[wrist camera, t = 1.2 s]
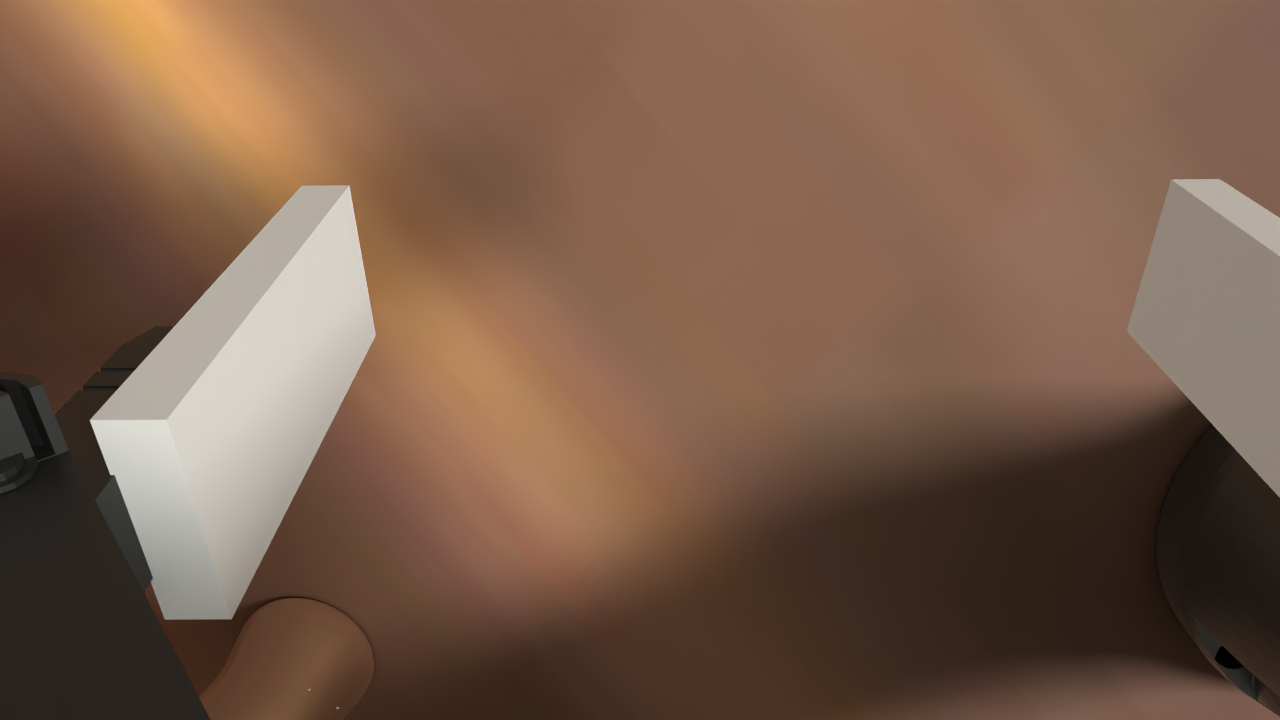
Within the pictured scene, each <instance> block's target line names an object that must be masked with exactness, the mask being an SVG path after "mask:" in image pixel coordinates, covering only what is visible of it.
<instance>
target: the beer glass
mask: <svg viewBox="0 0 1280 720" xmlns="http://www.w3.org/2000/svg"><path fill="white" fill-rule="evenodd" d="M373 673H374V655H373V651H372V648H371V645H370V643H369V641H368V639H367V637H366V636H365V634H364V633H363V631H362V630H361V629H360V628H359V627H358V625H357V624H356V623H355V622H354V621H353V620H351V619H350V618H349V617H348V616H347V615H345V614H344V613H342V612H341V611H339V610H337V609H336V608H334V607H332V606H329V605H327V604H325V603H322V602H319V601H315V600H311V599H305V598H284V599H279V600H275V601H272V602H269V603H267V604H265V605H263V606H262V607H260V608H259V609H258V610H256V611H255V612H254V613H253V614H252V615H251V616H250V617H249V618H248V620H247V621H246V623H245V624H244V626H243V628H242V630H241V632H240V634H239V636H238V638H237V640H236V642H235V645H234V647H233V649H232V651H231V654H230V656H229V658H228V660H227V662H226V664H225V666H224V667H223V669H222V670H221V672H220V673H219V674H218V676H217V677H216V678H215V680H214V681H213V682H212V683H211V684H210V685H209V687H208V688H207V689H206V690H205V691H204V692H203V693H202V694H201V695H200V696H199V699H200V700H201V702H202V704H203V706H204V708H205V710H206V712H207V714H208V716H209V718H210V719H211V720H343V719H344V717H345V716H346V715H347V714H348V713H349V712H350V710H351V709H352V708H353V707H354V706H355V705H356V703H357V702H358V701H359V700H360V698H361V697H362V696H363V695H364V693H365V692H366V690H367V688H368V687H369V685H370V683H371V680H372V677H373Z"/></svg>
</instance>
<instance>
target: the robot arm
mask: <svg viewBox="0 0 1280 720" xmlns="http://www.w3.org/2000/svg"><path fill="white" fill-rule="evenodd" d="M1127 332H1128V333H1129V334H1130V335H1131V336H1132V338H1133V339H1134V340H1135V341H1136V342H1137V343H1138V344H1139V345H1140V346H1141V347H1142V348H1143V350H1144V351H1145V352H1146V353H1147V354H1148V355H1149V356H1150V357H1151V358H1152V359H1153V360H1154V361H1155V363H1156V364H1157V365H1158V366H1159V367H1160V368H1161V369H1162V370H1163V371H1164V372H1165V373H1166V375H1167V376H1168V377H1169V378H1170V379H1171V380H1172V381H1173V382H1174V383H1175V384H1176V385H1177V386H1178V388H1179V389H1180V390H1181V391H1182V392H1183V393H1184V394H1185V395H1186V396H1187V397H1188V398H1189V400H1190V401H1191V402H1192V403H1193V404H1194V405H1195V406H1196V407H1197V408H1198V409H1199V410H1200V411H1201V413H1202V414H1203V415H1204V416H1205V417H1206V418H1207V419H1208V420H1209V421H1210V422H1211V423H1212V426H1211V427H1210V428H1209V430H1208V431H1207V432H1206V433H1205V434H1204V435H1203V436H1202V437H1201V439H1200V440H1199V441H1198V442H1197V444H1196V445H1195V446H1194V447H1193V449H1192V450H1191V452H1190V453H1189V455H1188V456H1187V458H1186V459H1185V460H1184V462H1183V464H1182V465H1181V467H1180V469H1179V471H1178V472H1177V474H1176V476H1175V478H1174V480H1173V482H1172V484H1171V486H1170V489H1169V491H1168V494H1167V496H1166V499H1165V502H1164V505H1163V508H1162V511H1161V516H1160V520H1159V525H1158V533H1157V549H1156V551H1157V564H1158V571H1159V576H1160V580H1161V584H1162V587H1163V590H1164V593H1165V595H1166V598H1167V600H1168V602H1169V604H1170V606H1171V608H1172V610H1173V611H1174V613H1175V615H1176V616H1177V618H1178V619H1179V621H1180V622H1181V624H1182V625H1183V627H1184V628H1185V629H1186V631H1187V632H1188V634H1189V635H1190V636H1191V638H1192V639H1193V641H1194V642H1195V644H1196V645H1197V646H1198V648H1199V649H1200V651H1201V652H1202V653H1203V654H1204V656H1205V657H1206V658H1207V660H1208V661H1209V662H1210V663H1211V664H1212V665H1213V666H1214V667H1215V668H1216V669H1217V670H1218V671H1219V672H1220V673H1221V674H1222V675H1223V676H1224V677H1225V678H1226V679H1227V680H1228V681H1229V682H1231V683H1232V684H1233V685H1235V686H1236V687H1237V688H1239V689H1240V690H1241V691H1243V692H1244V693H1246V694H1247V695H1249V696H1250V697H1252V698H1253V699H1255V700H1256V701H1257V702H1259V703H1260V704H1262V705H1263V706H1265V707H1266V708H1268V709H1269V710H1271V711H1272V712H1274V713H1275V714H1276V715H1278V716H1279V717H1280V218H1279V217H1277V216H1276V215H1274V214H1273V213H1271V212H1270V211H1268V210H1266V209H1265V208H1263V207H1262V206H1260V205H1259V204H1257V203H1256V202H1254V201H1253V200H1251V199H1249V198H1248V197H1246V196H1245V195H1243V194H1242V193H1240V192H1239V191H1237V190H1236V189H1234V188H1232V187H1231V186H1229V185H1228V184H1226V183H1225V182H1223V181H1222V180H1220V179H1175V180H1171V182H1170V186H1169V189H1168V192H1167V196H1166V199H1165V202H1164V206H1163V209H1162V213H1161V216H1160V219H1159V223H1158V226H1157V230H1156V233H1155V236H1154V240H1153V243H1152V246H1151V250H1150V253H1149V257H1148V260H1147V263H1146V267H1145V270H1144V274H1143V277H1142V280H1141V284H1140V287H1139V290H1138V294H1137V297H1136V301H1135V304H1134V307H1133V311H1132V314H1131V318H1130V321H1129V324H1128V328H1127ZM375 336H376V334H375V328H374V322H373V317H372V311H371V305H370V300H369V294H368V288H367V283H366V277H365V271H364V266H363V260H362V254H361V249H360V243H359V237H358V232H357V226H356V220H355V215H354V209H353V203H352V198H351V192H350V186H349V185H327V186H301V187H300V188H299V189H298V190H297V191H296V193H295V194H294V195H293V196H292V197H291V198H290V199H289V200H288V201H287V203H286V204H285V205H284V206H283V207H282V208H281V209H280V210H279V211H278V212H277V214H276V215H275V216H274V217H273V218H272V219H271V220H270V221H269V222H268V224H267V225H266V226H265V227H264V228H263V229H262V230H261V231H260V232H259V233H258V235H257V236H256V237H255V238H254V239H253V240H252V241H251V242H250V243H249V245H248V246H247V247H246V248H245V249H244V250H243V251H242V252H241V253H240V255H239V256H238V257H237V258H236V259H235V260H234V261H233V262H232V263H231V264H230V266H229V267H228V268H227V269H226V270H225V271H224V272H223V273H222V274H221V276H220V277H219V278H218V279H217V280H216V281H215V282H214V283H213V284H212V285H211V287H210V288H209V289H208V290H207V291H206V292H205V293H204V294H203V295H202V297H201V298H200V299H199V300H198V301H197V302H196V303H195V304H194V305H193V306H192V308H191V309H190V310H189V311H188V312H187V313H186V314H185V315H184V316H183V318H182V319H181V320H180V321H179V322H178V323H177V324H176V325H175V326H174V327H154V328H153V329H151V330H149V331H147V332H146V333H144V334H142V335H140V336H139V337H137V338H135V339H133V340H131V341H130V342H128V343H126V344H124V345H123V346H121V347H120V348H119V349H118V350H117V352H116V353H115V354H114V355H113V356H112V357H111V358H110V359H109V360H108V361H107V362H106V363H105V364H104V365H103V366H102V367H101V372H96V373H95V374H94V375H93V376H92V377H91V378H90V379H89V380H88V381H87V382H86V384H85V385H84V386H83V391H78V392H77V393H76V394H75V395H74V396H73V397H72V398H71V399H70V400H69V401H68V402H67V403H66V404H65V405H64V406H63V407H62V408H61V409H60V410H59V411H58V412H57V413H56V414H54V412H53V409H52V407H51V404H50V402H49V399H48V397H47V394H46V392H45V389H44V387H43V384H42V383H40V382H39V381H38V380H36V379H35V378H34V377H32V376H30V375H24V374H18V373H12V372H9V373H0V720H211V719H210V718H209V716H208V714H207V712H206V710H205V708H204V706H203V704H202V702H201V700H200V699H199V697H198V695H197V693H196V691H195V689H194V687H193V685H192V683H191V681H190V680H189V678H188V676H187V674H186V672H185V670H184V668H183V666H182V664H181V662H180V661H179V659H178V657H177V655H176V653H175V651H174V649H173V647H172V645H171V643H170V642H169V640H168V638H167V636H166V634H165V632H164V630H163V628H162V626H161V625H160V623H159V621H158V619H157V617H156V615H155V613H154V611H153V609H152V607H151V606H150V604H149V602H148V600H147V598H146V596H145V594H144V591H145V590H146V588H147V587H148V585H149V584H150V582H151V584H152V587H153V589H154V592H155V595H156V597H157V600H158V603H159V605H160V608H161V611H162V613H163V616H164V619H165V620H173V619H232V618H233V616H234V614H235V612H236V610H237V608H238V606H239V604H240V602H241V600H242V598H243V596H244V594H245V592H246V590H247V588H248V586H249V584H250V582H251V580H252V578H253V576H254V574H255V572H256V570H257V568H258V566H259V564H260V562H261V560H262V558H263V557H264V555H265V553H266V551H267V549H268V547H269V545H270V543H271V541H272V539H273V537H274V535H275V533H276V531H277V529H278V527H279V525H280V523H281V521H282V519H283V517H284V515H285V513H286V511H287V509H288V507H289V505H290V503H291V501H292V499H293V497H294V495H295V494H296V492H297V490H298V488H299V486H300V484H301V482H302V480H303V478H304V476H305V474H306V472H307V470H308V468H309V466H310V464H311V462H312V460H313V458H314V456H315V454H316V452H317V450H318V448H319V446H320V444H321V442H322V440H323V438H324V436H325V434H326V432H327V431H328V429H329V427H330V425H331V423H332V421H333V419H334V417H335V415H336V413H337V411H338V409H339V407H340V405H341V403H342V401H343V399H344V397H345V395H346V393H347V391H348V389H349V387H350V385H351V383H352V381H353V379H354V377H355V375H356V373H357V371H358V369H359V368H360V366H361V364H362V362H363V360H364V358H365V356H366V354H367V352H368V350H369V348H370V346H371V344H372V342H373V340H374V338H375Z"/></svg>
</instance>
